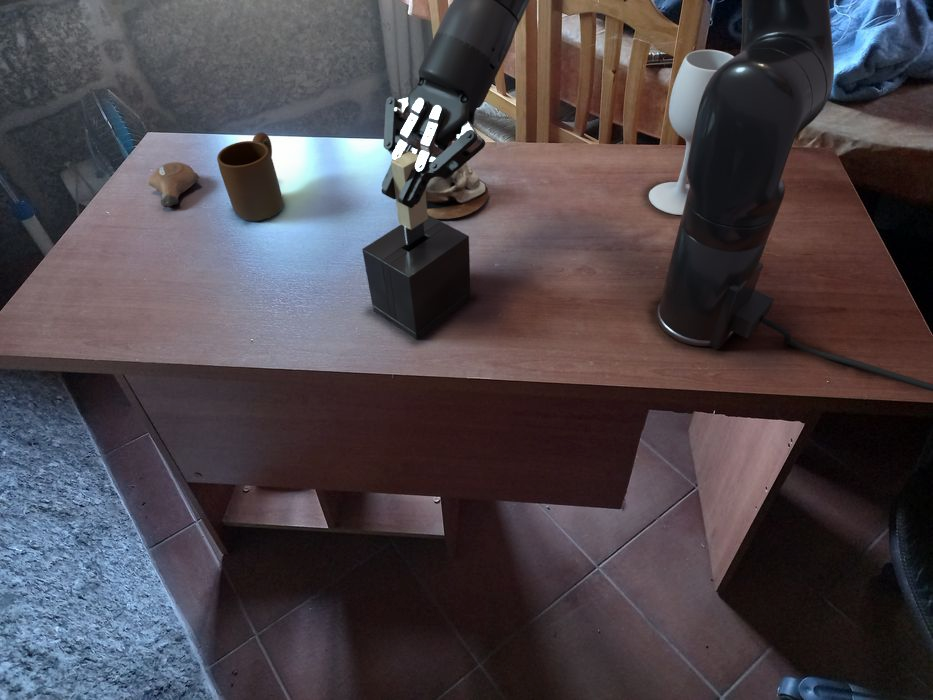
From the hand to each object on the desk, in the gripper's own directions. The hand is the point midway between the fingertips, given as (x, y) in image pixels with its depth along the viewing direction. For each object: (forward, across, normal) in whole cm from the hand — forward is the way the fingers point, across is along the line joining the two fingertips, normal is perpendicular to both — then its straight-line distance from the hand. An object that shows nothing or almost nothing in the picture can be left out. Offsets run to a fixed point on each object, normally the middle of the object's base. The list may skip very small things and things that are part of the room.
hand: (396, 200), depth 71 cm
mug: (+10, -36, +14) cm, 40 cm away
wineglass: (-19, +13, +43) cm, 49 cm away
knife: (+10, 0, +13) cm, 16 cm away
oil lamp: (+16, -49, +9) cm, 52 cm away
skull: (-4, -14, +28) cm, 31 cm away
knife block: (+10, 0, +13) cm, 17 cm away
